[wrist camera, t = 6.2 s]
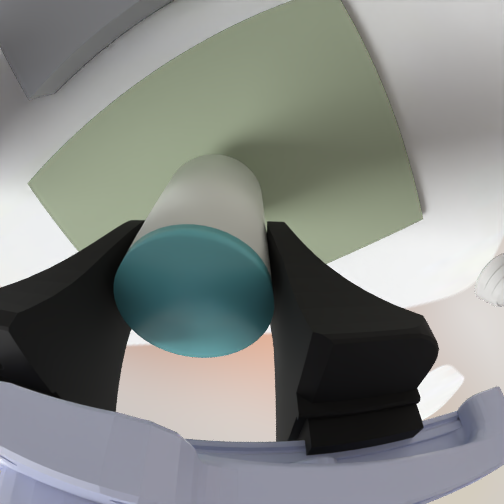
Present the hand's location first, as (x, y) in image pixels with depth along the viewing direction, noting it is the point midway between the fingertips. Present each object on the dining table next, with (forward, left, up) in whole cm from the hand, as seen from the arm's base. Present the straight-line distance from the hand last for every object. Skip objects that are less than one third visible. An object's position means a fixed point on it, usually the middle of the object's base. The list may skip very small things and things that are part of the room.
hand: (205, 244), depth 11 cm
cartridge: (0, 0, -3) cm, 3 cm away
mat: (0, 0, -6) cm, 6 cm away
